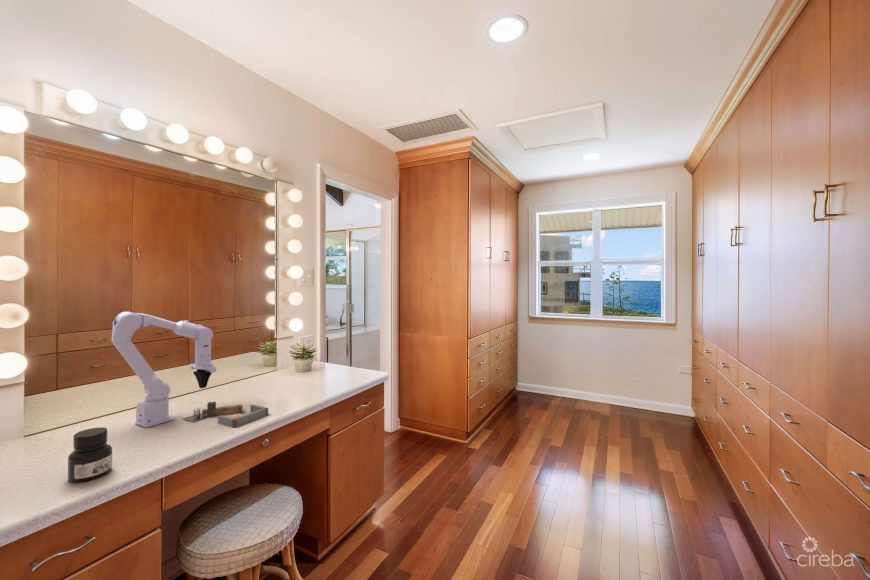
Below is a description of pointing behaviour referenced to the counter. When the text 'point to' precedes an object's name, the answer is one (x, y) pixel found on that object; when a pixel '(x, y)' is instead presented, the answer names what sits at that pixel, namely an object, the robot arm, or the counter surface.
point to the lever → (220, 409)
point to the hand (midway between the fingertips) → (202, 387)
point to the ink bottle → (89, 455)
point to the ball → (235, 416)
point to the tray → (244, 417)
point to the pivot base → (196, 416)
